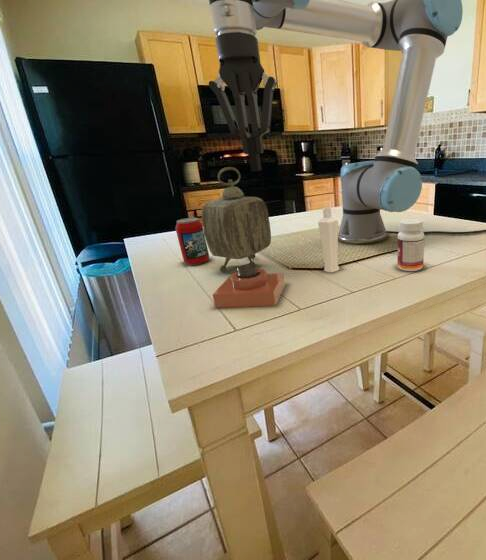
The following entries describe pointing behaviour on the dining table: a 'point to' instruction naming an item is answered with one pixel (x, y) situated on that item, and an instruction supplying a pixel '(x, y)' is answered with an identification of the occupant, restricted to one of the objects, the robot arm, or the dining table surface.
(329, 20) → the robot arm
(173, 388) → the dining table surface
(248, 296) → the brown stepped base
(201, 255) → the beverage can
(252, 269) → the dark grey short cylinder
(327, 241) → the perfume bottle
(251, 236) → the tabletop clock
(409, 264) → the pill bottle
